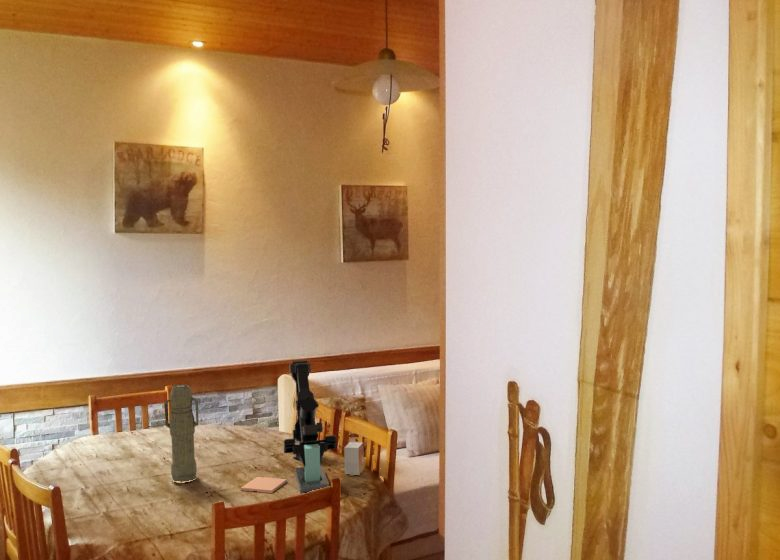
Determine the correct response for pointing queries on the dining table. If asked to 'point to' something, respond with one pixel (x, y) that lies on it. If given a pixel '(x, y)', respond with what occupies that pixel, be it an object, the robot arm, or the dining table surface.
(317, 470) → the peg
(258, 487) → the tile
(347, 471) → the small box
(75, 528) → the dining table surface
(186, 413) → the thermos
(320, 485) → the grey slotted board
